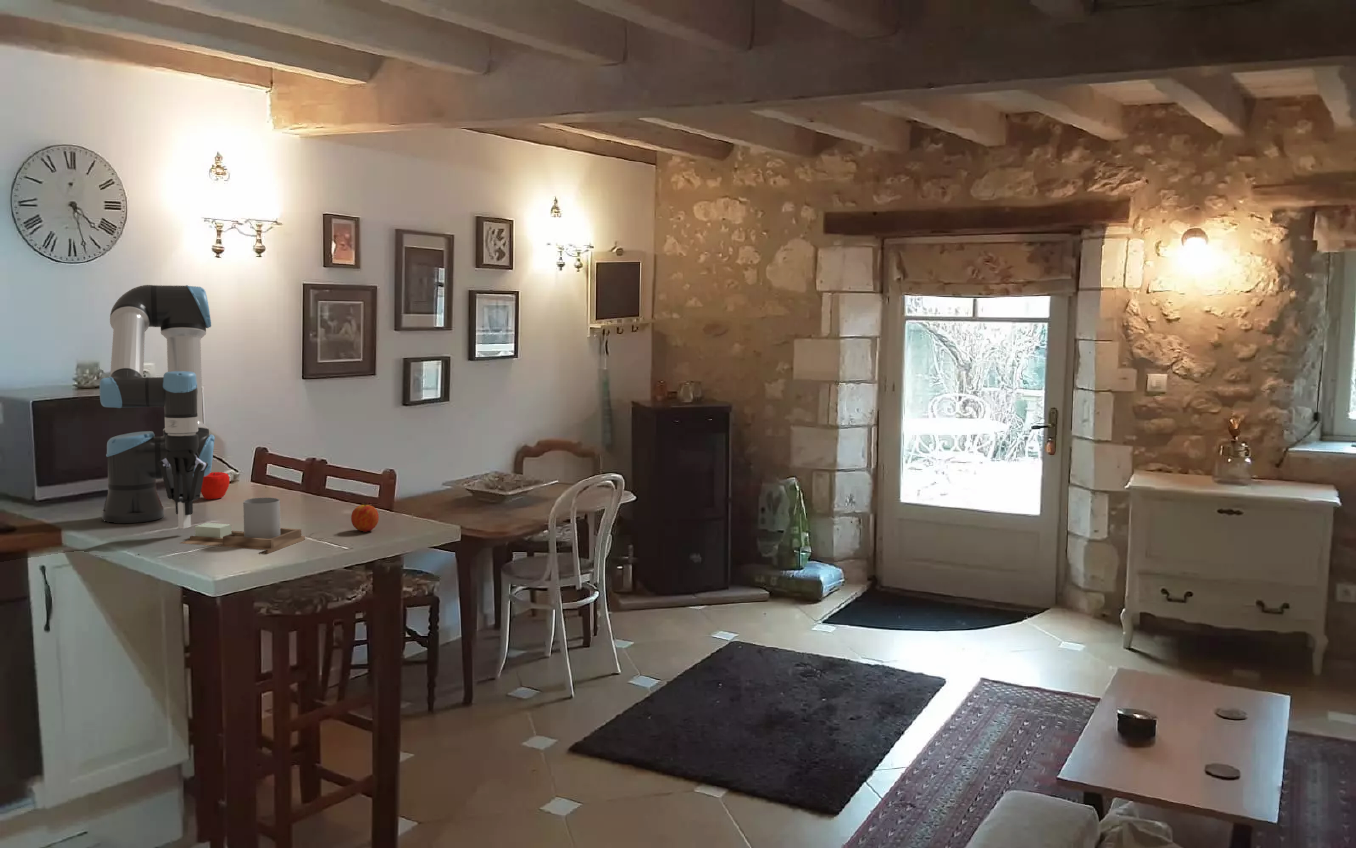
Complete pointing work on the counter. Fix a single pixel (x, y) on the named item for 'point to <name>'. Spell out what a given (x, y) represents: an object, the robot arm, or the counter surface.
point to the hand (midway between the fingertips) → (184, 527)
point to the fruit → (364, 517)
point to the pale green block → (213, 530)
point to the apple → (215, 485)
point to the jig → (251, 540)
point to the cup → (262, 518)
